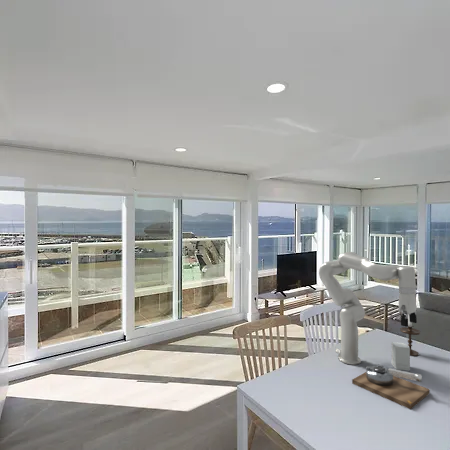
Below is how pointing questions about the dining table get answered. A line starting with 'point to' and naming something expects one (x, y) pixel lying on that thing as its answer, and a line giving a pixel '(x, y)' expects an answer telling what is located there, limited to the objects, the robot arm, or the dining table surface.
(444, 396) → the dining table surface
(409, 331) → the candlestick
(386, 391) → the wooden base
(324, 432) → the dining table surface
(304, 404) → the dining table surface
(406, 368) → the supplement box
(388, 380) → the faucet lever handle
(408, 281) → the robot arm
